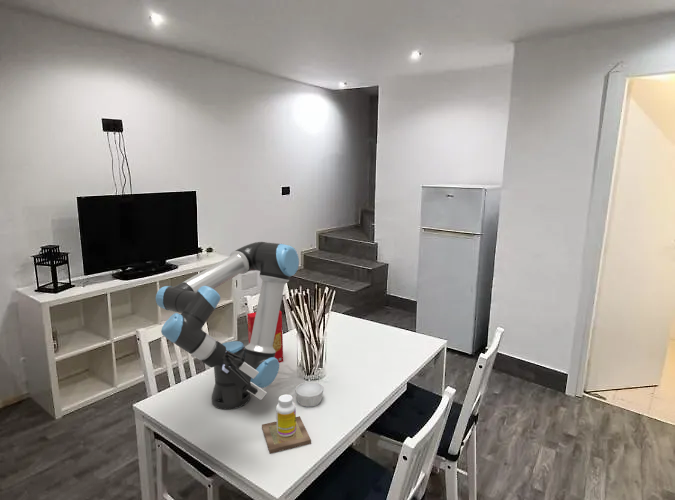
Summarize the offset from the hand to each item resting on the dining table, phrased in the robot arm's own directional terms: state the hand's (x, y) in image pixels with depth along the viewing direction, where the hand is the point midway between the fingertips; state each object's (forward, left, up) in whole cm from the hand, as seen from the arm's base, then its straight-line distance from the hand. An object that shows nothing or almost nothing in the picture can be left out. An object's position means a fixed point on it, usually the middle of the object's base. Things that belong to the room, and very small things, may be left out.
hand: (259, 385), depth 136 cm
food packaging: (-55, +12, -21) cm, 60 cm away
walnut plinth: (0, +8, -21) cm, 23 cm away
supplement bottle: (0, +9, -20) cm, 21 cm away
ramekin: (-18, +22, -21) cm, 36 cm away
